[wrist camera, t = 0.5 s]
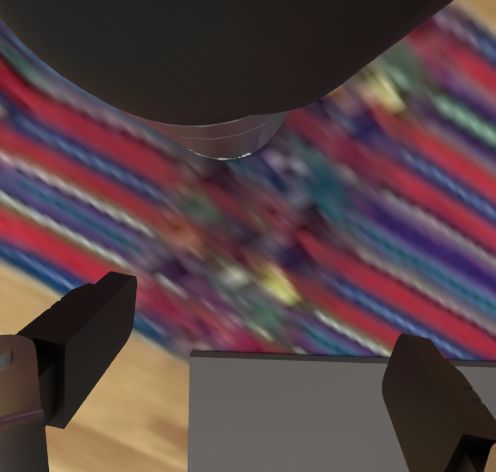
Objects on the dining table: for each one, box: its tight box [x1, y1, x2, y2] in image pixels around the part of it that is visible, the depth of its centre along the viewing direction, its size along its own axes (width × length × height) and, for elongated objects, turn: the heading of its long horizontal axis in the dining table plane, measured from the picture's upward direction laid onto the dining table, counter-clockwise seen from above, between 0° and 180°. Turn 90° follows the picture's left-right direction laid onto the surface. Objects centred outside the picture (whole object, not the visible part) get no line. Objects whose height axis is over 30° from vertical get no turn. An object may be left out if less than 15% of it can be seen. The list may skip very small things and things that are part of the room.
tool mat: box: [188, 351, 496, 472], centre depth 30 cm, size 14×26×1 cm, turn 88°
